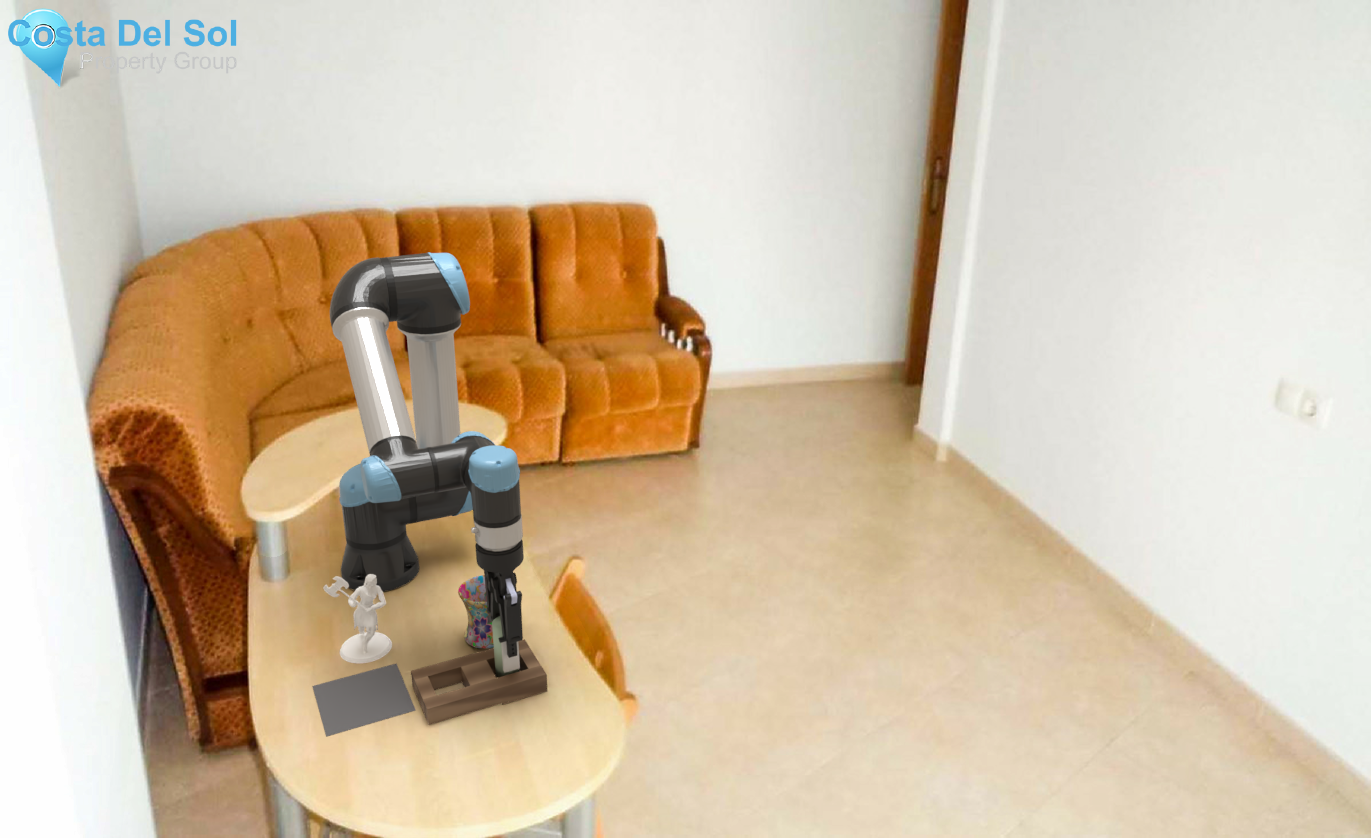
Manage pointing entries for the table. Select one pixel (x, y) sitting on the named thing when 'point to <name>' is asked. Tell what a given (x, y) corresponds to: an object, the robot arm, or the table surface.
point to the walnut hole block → (475, 684)
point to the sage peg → (499, 648)
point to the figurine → (363, 622)
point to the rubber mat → (362, 699)
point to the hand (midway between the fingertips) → (507, 661)
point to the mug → (477, 613)
